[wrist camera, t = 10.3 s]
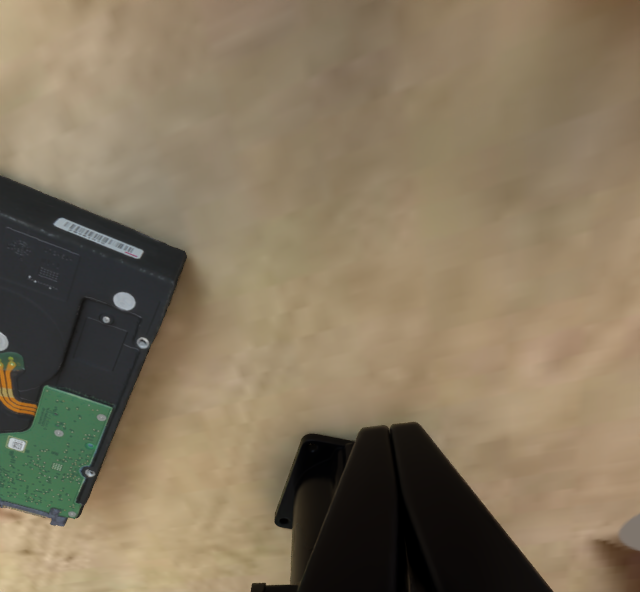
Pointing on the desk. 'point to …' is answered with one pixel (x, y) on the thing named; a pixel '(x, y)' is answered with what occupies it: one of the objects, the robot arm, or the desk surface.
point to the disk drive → (69, 342)
